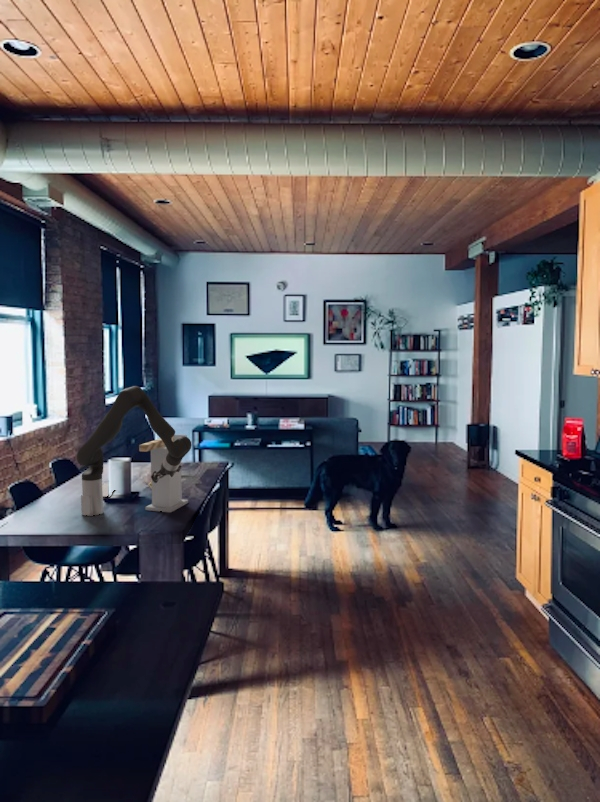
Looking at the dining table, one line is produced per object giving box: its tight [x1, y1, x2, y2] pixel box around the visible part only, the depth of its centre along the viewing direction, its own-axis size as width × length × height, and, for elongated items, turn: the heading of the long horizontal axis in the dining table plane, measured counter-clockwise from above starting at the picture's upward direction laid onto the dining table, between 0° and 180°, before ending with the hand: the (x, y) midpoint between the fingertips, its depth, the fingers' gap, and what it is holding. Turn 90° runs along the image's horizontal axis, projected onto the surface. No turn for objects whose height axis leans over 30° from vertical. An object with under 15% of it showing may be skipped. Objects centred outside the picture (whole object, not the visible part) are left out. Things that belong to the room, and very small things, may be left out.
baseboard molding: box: [102, 480, 109, 497], centre depth 338 cm, size 31×3×12 cm
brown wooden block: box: [138, 437, 174, 453], centre depth 295 cm, size 26×4×3 cm, turn 163°
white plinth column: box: [144, 434, 189, 513], centre depth 305 cm, size 22×14×35 cm, turn 163°
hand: (162, 478), depth 293 cm, fingers open, 8 cm apart
